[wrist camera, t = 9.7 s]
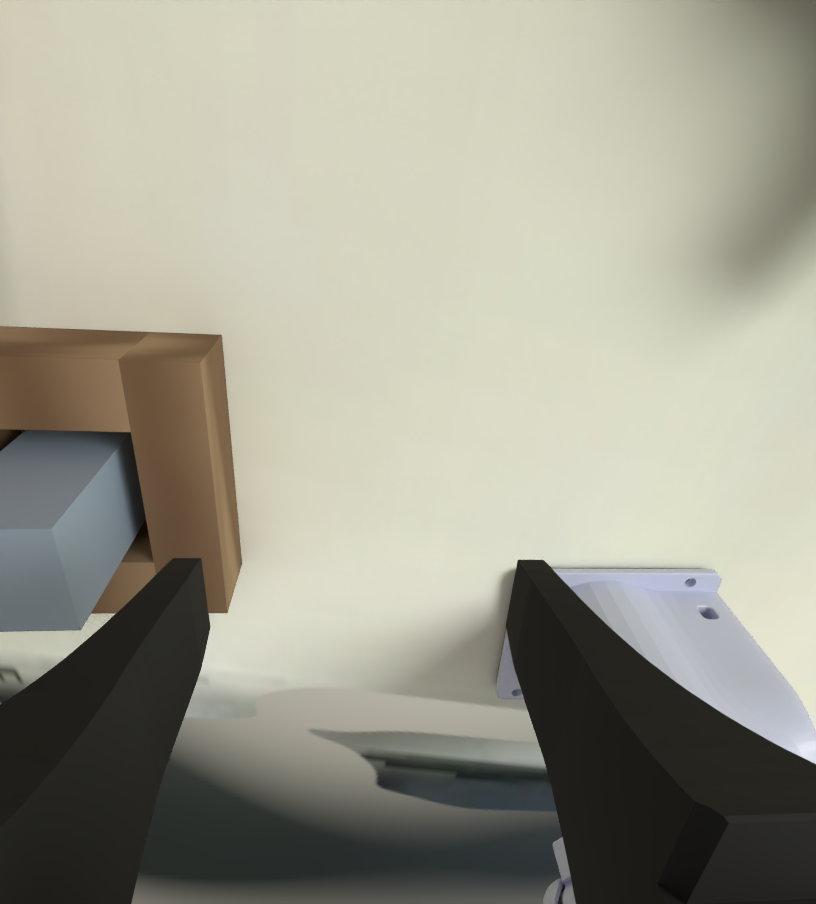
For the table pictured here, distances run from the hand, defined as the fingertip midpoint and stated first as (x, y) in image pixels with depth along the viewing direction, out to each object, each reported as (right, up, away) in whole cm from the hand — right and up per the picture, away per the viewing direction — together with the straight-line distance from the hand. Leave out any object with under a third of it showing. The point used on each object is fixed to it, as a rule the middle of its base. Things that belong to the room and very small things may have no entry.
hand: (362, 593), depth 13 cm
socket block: (-11, +3, +9) cm, 14 cm away
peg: (-11, +3, +9) cm, 14 cm away
